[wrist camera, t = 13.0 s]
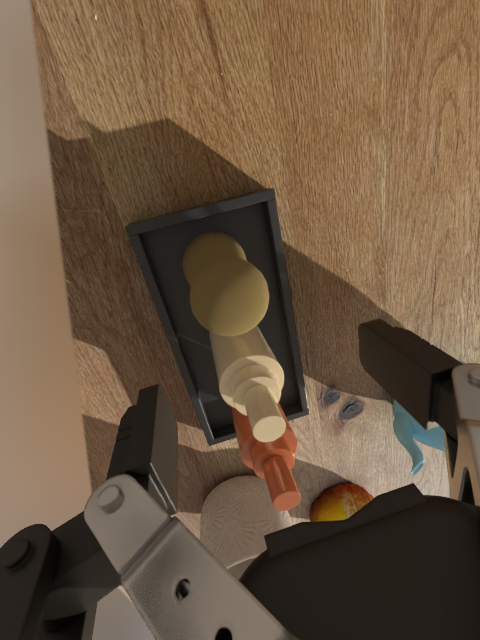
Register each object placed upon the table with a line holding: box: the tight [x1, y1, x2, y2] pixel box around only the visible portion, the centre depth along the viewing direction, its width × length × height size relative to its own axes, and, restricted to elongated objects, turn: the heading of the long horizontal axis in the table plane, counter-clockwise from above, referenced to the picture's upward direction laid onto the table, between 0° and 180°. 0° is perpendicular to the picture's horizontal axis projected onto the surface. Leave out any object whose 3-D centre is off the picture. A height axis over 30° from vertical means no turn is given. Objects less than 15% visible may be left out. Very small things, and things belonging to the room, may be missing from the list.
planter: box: [200, 475, 293, 580], centre depth 38 cm, size 12×12×11 cm
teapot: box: [393, 361, 466, 475], centre depth 36 cm, size 13×13×10 cm
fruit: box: [310, 482, 374, 522], centre depth 45 cm, size 11×10×8 cm
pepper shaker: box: [182, 232, 269, 336], centre depth 23 cm, size 6×6×11 cm
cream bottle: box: [209, 325, 286, 442], centre depth 25 cm, size 5×5×14 cm
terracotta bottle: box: [229, 402, 301, 511], centre depth 28 cm, size 5×5×14 cm
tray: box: [125, 189, 309, 446], centre depth 31 cm, size 26×13×2 cm, turn 13°
